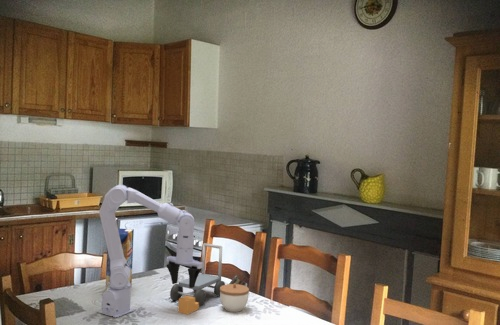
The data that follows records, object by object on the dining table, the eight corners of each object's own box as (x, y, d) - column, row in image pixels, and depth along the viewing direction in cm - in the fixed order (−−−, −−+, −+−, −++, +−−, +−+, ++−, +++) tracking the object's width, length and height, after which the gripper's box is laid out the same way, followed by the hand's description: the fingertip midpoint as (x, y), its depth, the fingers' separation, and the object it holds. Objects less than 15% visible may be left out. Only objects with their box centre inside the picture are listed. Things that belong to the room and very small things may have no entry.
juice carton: (124, 296, 181) (127, 234, 180) (105, 295, 181) (107, 233, 180) (131, 287, 193) (133, 229, 192) (113, 286, 193) (115, 228, 192)
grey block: (235, 302, 183) (251, 277, 189) (220, 294, 186) (236, 269, 192) (238, 312, 190) (253, 287, 196) (223, 304, 193) (238, 280, 199)
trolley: (195, 308, 172) (198, 254, 171) (169, 301, 178) (172, 250, 177) (224, 294, 189) (227, 246, 189) (200, 288, 195) (202, 241, 195)
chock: (187, 315, 165) (187, 301, 165) (178, 312, 167) (178, 298, 167) (198, 309, 171) (199, 295, 171) (189, 307, 173) (190, 293, 173)
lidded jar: (244, 315, 167) (246, 289, 166) (215, 312, 169) (216, 286, 168) (250, 306, 177) (251, 281, 177) (223, 302, 179) (224, 278, 179)
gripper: (208, 248, 167) (206, 286, 168) (175, 242, 174) (174, 279, 175) (196, 251, 161) (194, 291, 162) (163, 245, 168) (161, 283, 169)
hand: (183, 285), depth 168 cm, fingers open, 7 cm apart
